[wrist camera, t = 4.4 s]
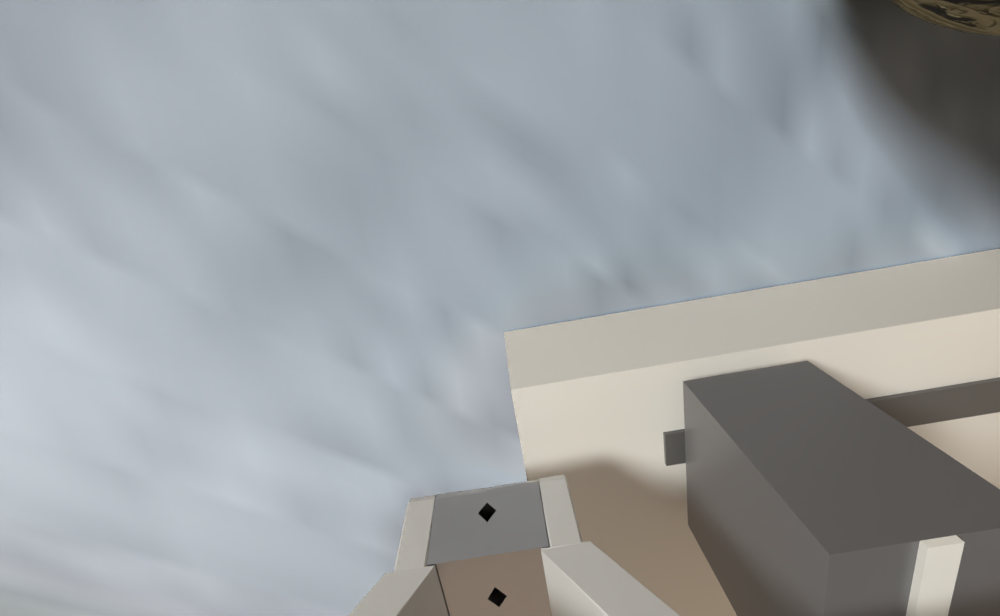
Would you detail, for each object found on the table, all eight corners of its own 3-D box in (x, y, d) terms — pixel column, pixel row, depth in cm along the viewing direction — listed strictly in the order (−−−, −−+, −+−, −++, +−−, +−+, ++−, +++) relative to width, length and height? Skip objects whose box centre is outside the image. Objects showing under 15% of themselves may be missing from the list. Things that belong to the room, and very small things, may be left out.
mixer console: (503, 332, 12) (511, 392, 9) (1201, 214, 12) (1438, 238, 9) (566, 682, 17) (583, 795, 14) (1065, 605, 17) (1190, 704, 14)
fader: (683, 381, 9) (835, 562, 5) (807, 360, 9) (1057, 528, 5) (687, 524, 10) (814, 759, 6) (797, 507, 10) (992, 732, 6)
